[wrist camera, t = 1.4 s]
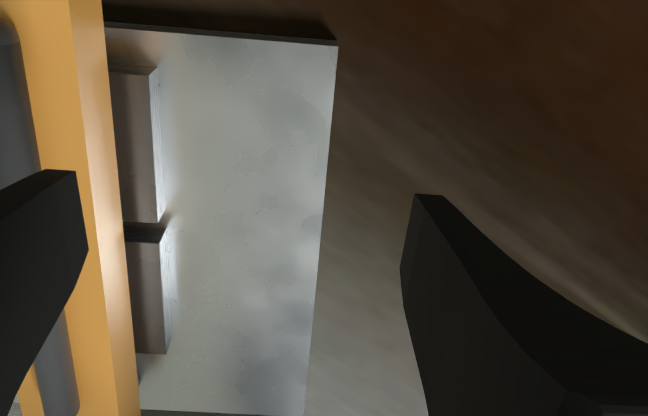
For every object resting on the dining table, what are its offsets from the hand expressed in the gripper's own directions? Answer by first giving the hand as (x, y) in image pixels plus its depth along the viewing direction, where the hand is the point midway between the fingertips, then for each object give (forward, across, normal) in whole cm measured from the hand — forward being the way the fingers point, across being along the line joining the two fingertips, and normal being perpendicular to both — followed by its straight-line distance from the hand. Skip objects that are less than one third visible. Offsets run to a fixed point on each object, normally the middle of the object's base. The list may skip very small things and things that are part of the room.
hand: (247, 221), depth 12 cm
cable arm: (+6, +7, +6) cm, 11 cm away
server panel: (+10, +7, +8) cm, 14 cm away
